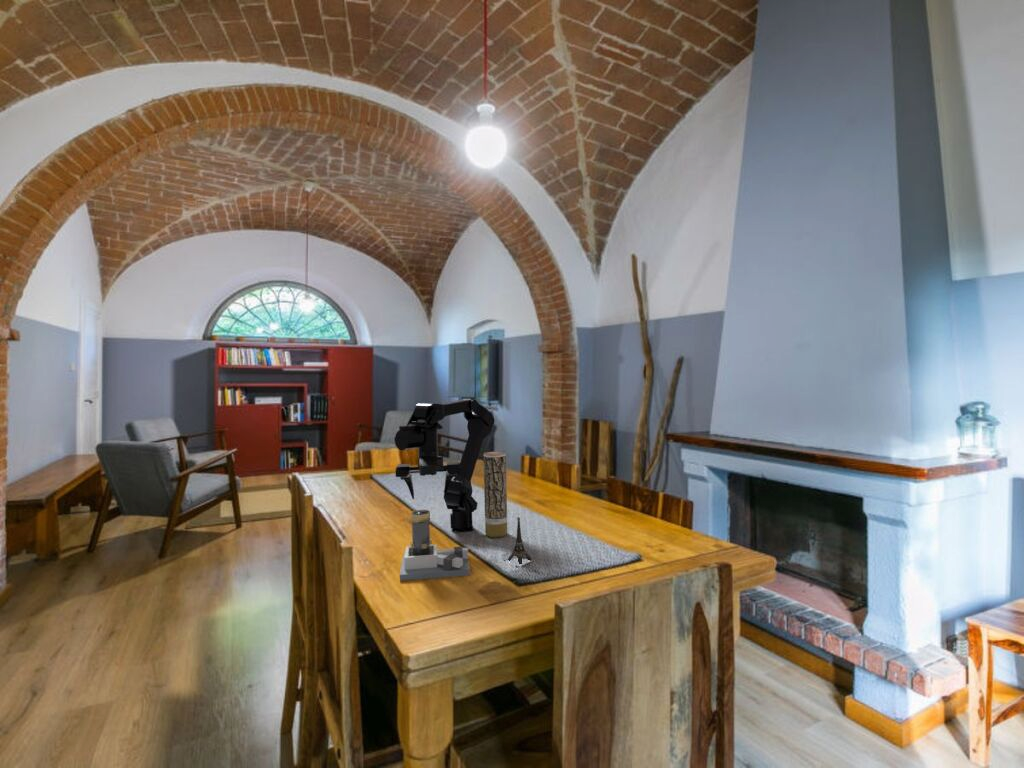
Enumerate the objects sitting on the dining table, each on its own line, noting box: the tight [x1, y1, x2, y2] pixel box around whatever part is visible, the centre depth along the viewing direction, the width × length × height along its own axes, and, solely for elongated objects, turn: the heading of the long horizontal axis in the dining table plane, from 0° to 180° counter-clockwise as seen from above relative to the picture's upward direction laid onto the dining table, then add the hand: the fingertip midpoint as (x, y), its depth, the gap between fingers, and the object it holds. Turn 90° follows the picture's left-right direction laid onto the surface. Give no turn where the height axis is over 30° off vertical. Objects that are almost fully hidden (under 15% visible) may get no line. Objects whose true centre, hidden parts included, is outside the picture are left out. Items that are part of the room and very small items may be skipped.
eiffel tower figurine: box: [507, 513, 533, 564], centre depth 134 cm, size 15×10×13 cm
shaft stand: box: [399, 544, 471, 582], centre depth 131 cm, size 17×15×4 cm
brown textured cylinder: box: [483, 451, 508, 538], centre depth 156 cm, size 7×7×25 cm
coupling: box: [410, 509, 433, 556], centre depth 131 cm, size 5×5×13 cm
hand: (429, 498), depth 151 cm, fingers open, 9 cm apart
